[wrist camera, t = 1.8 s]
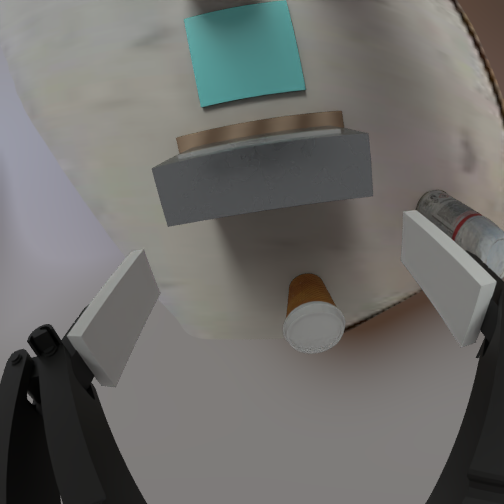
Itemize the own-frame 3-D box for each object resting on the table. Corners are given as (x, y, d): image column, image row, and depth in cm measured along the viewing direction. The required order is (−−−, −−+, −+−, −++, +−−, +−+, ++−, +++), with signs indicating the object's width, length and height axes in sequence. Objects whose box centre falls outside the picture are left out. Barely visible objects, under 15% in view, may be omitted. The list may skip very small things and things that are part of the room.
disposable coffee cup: (303, 255, 48) (313, 297, 37) (342, 283, 50) (359, 327, 40) (269, 293, 52) (269, 339, 41) (308, 316, 54) (316, 363, 43)
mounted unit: (339, 110, 37) (385, 111, 22) (346, 175, 42) (391, 213, 26) (178, 136, 40) (128, 153, 24) (193, 198, 44) (156, 247, 29)
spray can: (406, 225, 45) (468, 290, 27) (422, 181, 41) (497, 228, 23) (440, 236, 45) (502, 297, 27) (455, 196, 41) (528, 244, 24)
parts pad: (285, 2, 29) (285, 0, 29) (304, 90, 36) (305, 89, 35) (185, 20, 31) (183, 19, 30) (202, 107, 38) (201, 107, 37)
